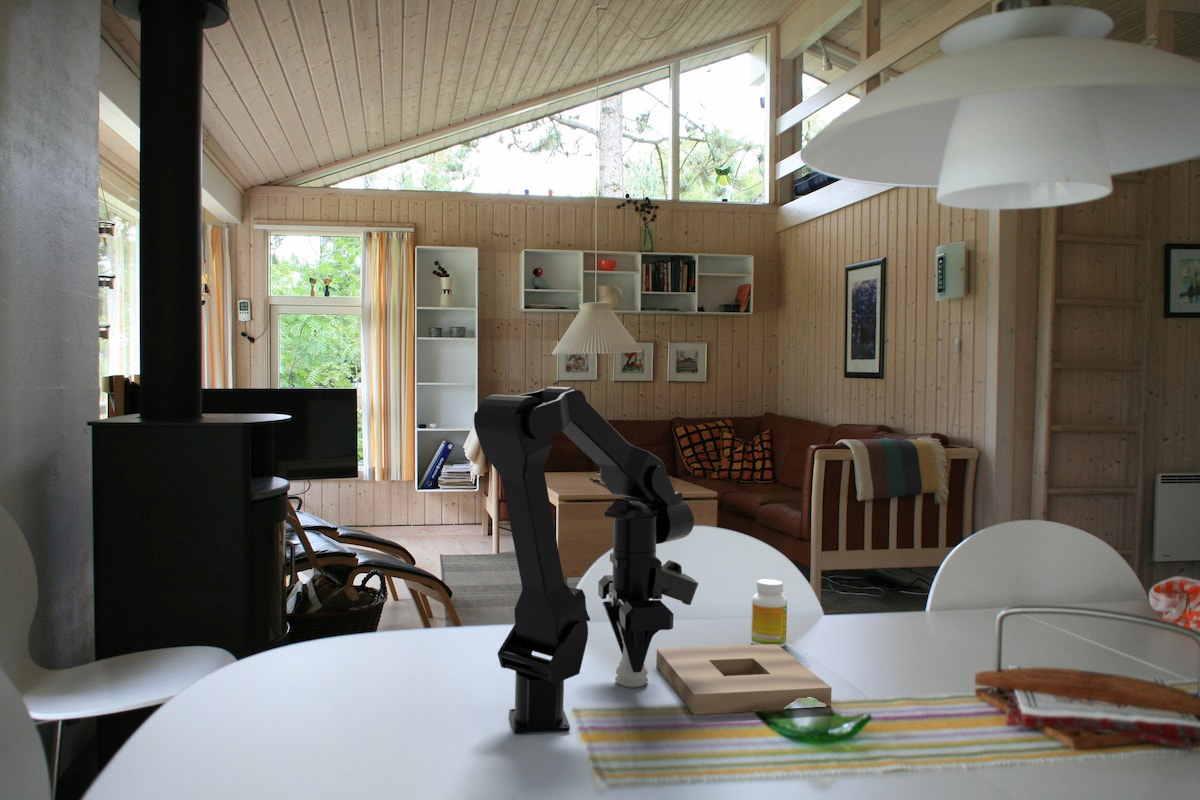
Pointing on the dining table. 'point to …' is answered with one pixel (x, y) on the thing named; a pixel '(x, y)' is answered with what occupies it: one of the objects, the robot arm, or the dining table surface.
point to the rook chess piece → (630, 673)
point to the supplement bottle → (769, 614)
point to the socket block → (739, 678)
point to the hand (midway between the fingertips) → (631, 664)
